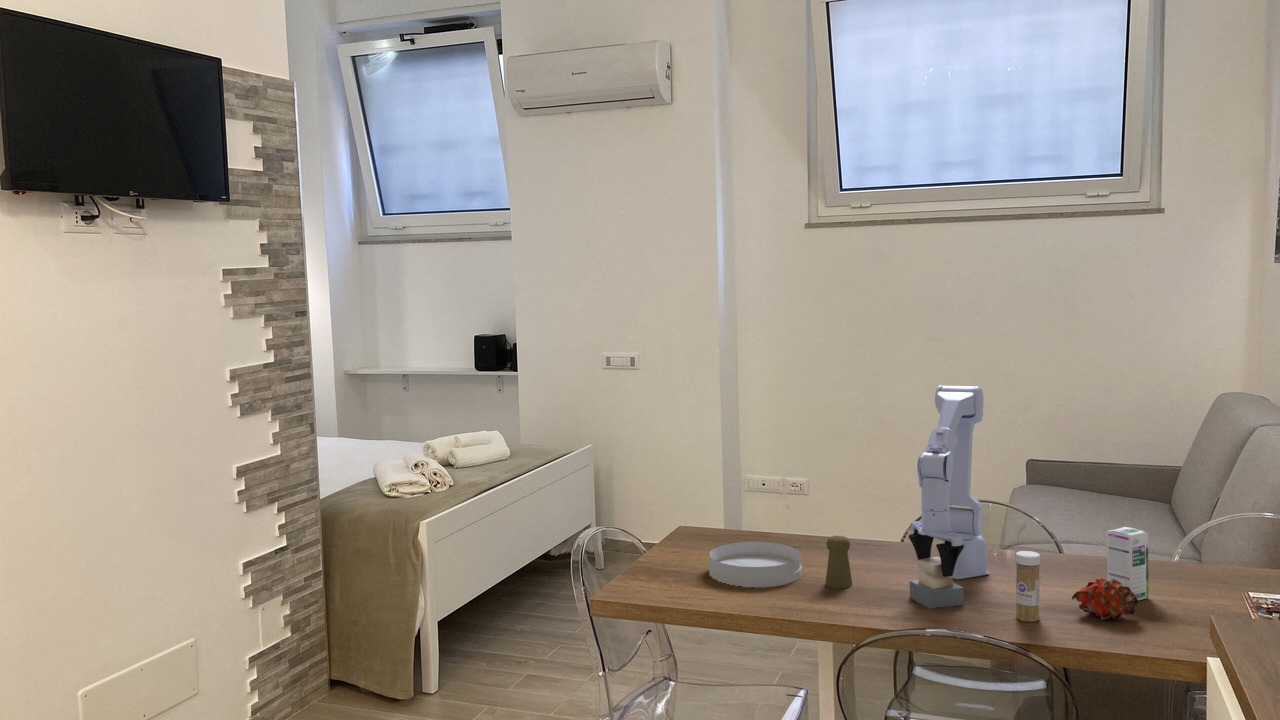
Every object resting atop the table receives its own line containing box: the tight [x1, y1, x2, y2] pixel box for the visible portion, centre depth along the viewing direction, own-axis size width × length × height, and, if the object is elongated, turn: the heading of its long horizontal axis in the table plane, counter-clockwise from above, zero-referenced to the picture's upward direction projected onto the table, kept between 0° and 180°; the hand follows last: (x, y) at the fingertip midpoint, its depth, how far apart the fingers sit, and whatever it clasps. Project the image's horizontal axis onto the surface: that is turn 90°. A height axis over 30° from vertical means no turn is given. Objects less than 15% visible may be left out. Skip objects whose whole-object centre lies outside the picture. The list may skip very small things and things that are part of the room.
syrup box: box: [1106, 526, 1150, 601], centre depth 201 cm, size 6×6×14 cm
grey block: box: [909, 579, 964, 609], centre depth 203 cm, size 8×8×4 cm
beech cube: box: [917, 556, 954, 589], centre depth 203 cm, size 5×5×5 cm
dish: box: [708, 541, 803, 589], centre depth 227 cm, size 22×22×5 cm
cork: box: [825, 535, 853, 589], centre depth 216 cm, size 6×6×11 cm
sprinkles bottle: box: [1015, 550, 1041, 623], centre depth 190 cm, size 5×5×13 cm
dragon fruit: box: [1071, 578, 1139, 621], centre depth 190 cm, size 8×8×12 cm
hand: (935, 571), depth 203 cm, fingers open, 7 cm apart
